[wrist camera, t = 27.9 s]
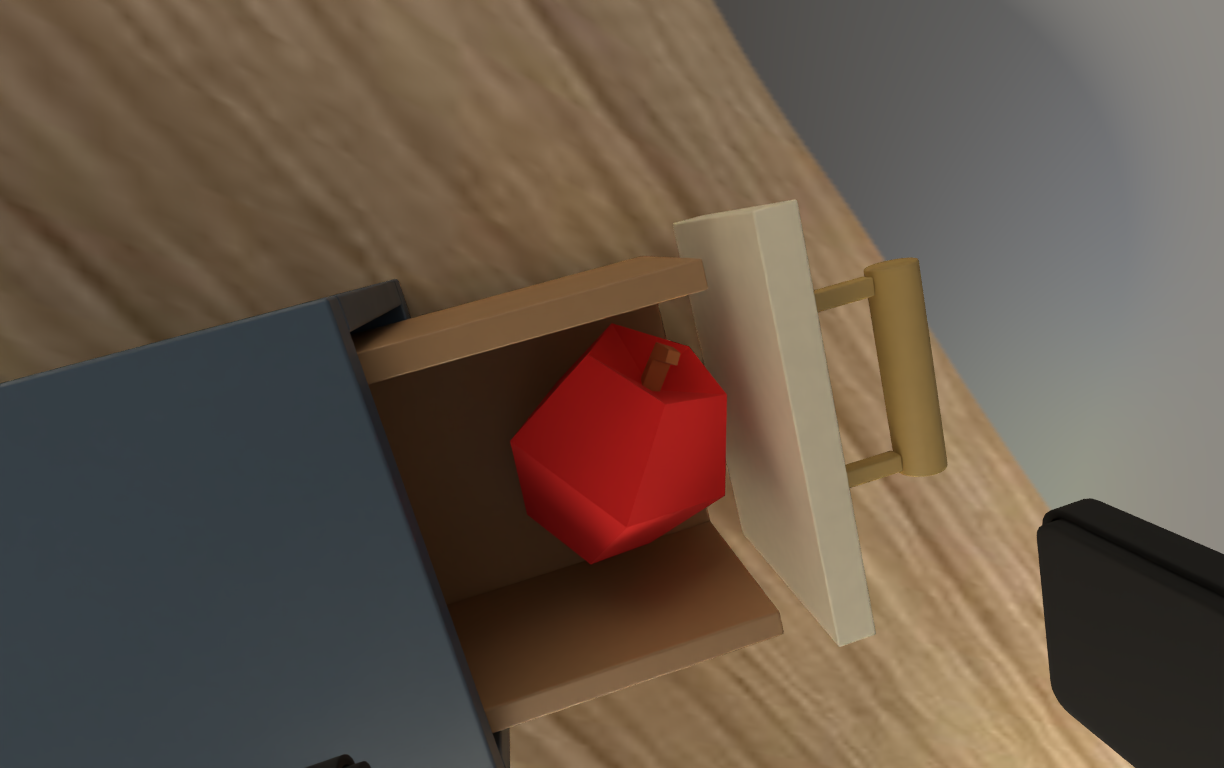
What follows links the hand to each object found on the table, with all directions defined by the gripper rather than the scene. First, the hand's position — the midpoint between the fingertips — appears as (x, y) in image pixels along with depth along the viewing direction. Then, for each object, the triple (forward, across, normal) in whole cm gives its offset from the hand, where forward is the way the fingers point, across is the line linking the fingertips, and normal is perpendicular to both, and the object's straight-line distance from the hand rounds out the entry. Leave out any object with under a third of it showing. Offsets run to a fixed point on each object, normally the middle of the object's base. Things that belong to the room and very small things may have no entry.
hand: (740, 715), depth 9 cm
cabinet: (+18, +13, +1) cm, 22 cm away
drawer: (+16, -1, +1) cm, 17 cm away
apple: (+16, -1, 0) cm, 16 cm away
